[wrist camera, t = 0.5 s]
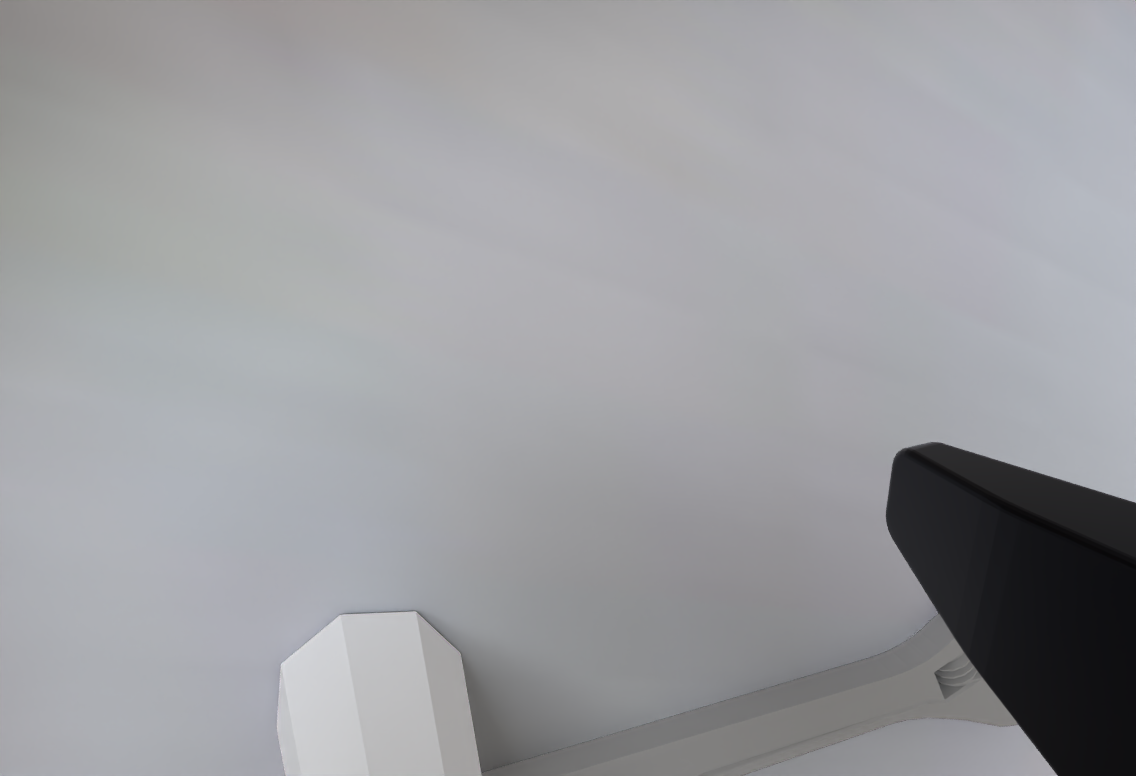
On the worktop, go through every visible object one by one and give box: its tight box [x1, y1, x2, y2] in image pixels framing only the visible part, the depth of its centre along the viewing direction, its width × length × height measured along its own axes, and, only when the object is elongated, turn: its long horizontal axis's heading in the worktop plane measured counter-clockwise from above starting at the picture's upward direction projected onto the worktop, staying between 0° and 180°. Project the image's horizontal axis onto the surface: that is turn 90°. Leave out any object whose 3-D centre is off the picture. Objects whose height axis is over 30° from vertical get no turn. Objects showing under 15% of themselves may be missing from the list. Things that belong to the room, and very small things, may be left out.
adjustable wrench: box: [481, 613, 1018, 776], centre depth 30 cm, size 25×6×2 cm, turn 90°
